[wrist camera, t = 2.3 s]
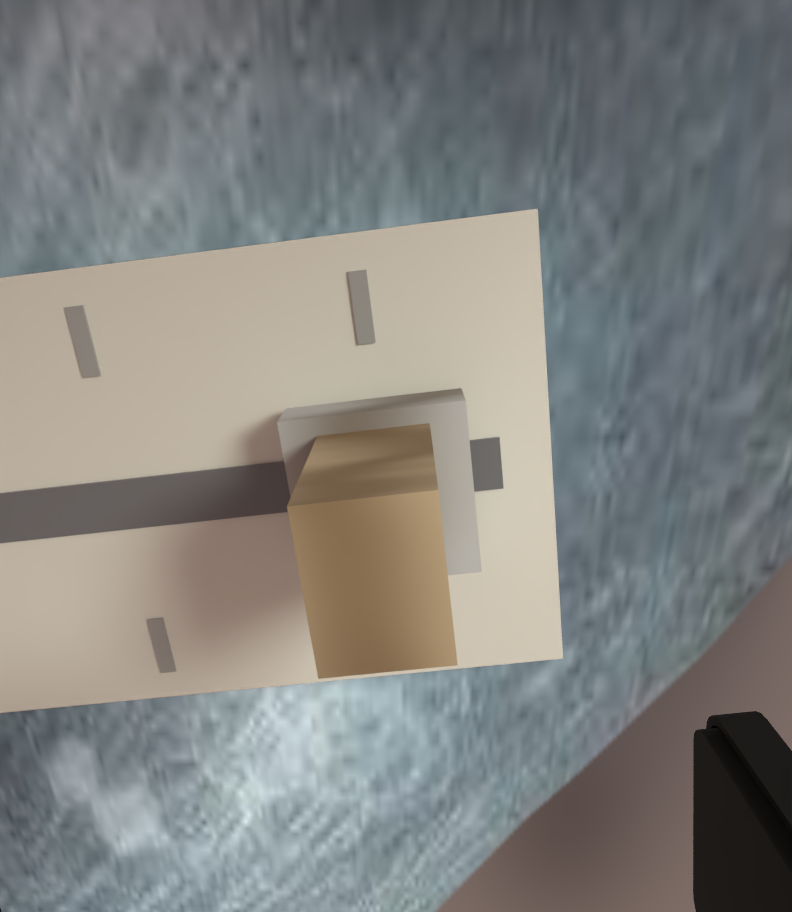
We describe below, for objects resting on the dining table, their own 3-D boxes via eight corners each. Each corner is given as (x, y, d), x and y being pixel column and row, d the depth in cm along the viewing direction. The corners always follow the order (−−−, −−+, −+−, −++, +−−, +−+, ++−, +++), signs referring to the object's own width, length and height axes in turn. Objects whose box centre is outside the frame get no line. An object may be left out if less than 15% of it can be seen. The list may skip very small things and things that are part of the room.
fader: (461, 388, 19) (487, 460, 13) (476, 548, 21) (506, 680, 15) (286, 408, 20) (232, 488, 14) (313, 565, 21) (276, 702, 15)
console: (519, 212, 21) (538, 208, 18) (545, 610, 26) (563, 660, 23) (-278, 314, 23) (-381, 326, 20) (-128, 678, 27) (-194, 733, 24)
